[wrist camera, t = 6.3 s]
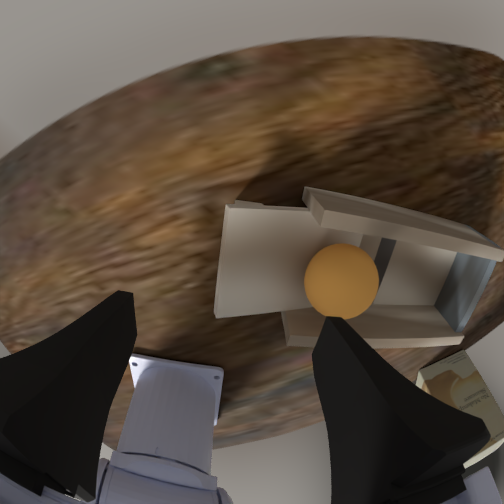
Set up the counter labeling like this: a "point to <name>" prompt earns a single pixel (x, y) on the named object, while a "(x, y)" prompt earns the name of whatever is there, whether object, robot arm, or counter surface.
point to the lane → (376, 246)
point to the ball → (341, 281)
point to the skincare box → (464, 395)
